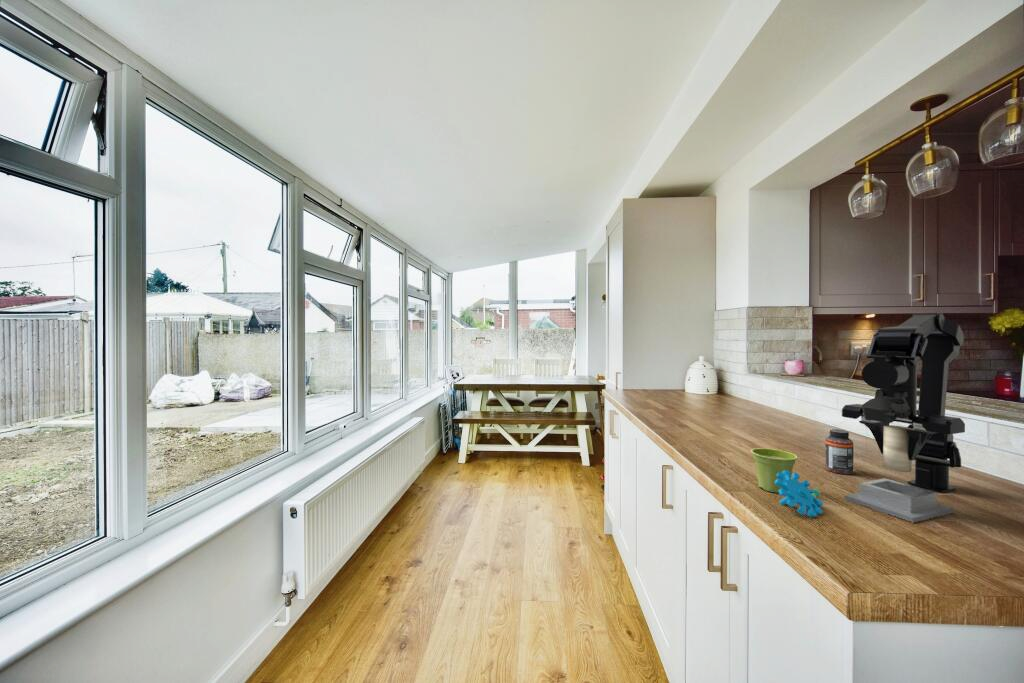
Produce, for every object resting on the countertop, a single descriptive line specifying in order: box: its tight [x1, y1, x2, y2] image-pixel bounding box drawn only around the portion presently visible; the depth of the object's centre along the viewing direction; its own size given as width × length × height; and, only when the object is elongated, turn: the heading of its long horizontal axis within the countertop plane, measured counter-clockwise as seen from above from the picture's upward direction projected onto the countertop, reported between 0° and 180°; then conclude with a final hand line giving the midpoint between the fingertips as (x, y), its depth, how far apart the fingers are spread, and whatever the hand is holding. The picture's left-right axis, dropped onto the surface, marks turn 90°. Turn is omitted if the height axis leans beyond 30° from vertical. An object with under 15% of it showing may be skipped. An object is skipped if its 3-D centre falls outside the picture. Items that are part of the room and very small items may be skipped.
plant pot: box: [750, 447, 798, 494], centre depth 95 cm, size 9×9×9 cm
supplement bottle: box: [824, 428, 854, 475], centre depth 108 cm, size 6×6×11 cm
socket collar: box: [858, 478, 938, 513], centre depth 86 cm, size 9×9×3 cm
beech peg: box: [882, 424, 912, 473], centre depth 86 cm, size 4×4×9 cm
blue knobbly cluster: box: [775, 470, 824, 518], centre depth 85 cm, size 11×6×10 cm
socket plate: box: [843, 491, 954, 523], centre depth 86 cm, size 14×12×1 cm
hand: (897, 457), depth 86 cm, fingers closed on beech peg, 4 cm apart
